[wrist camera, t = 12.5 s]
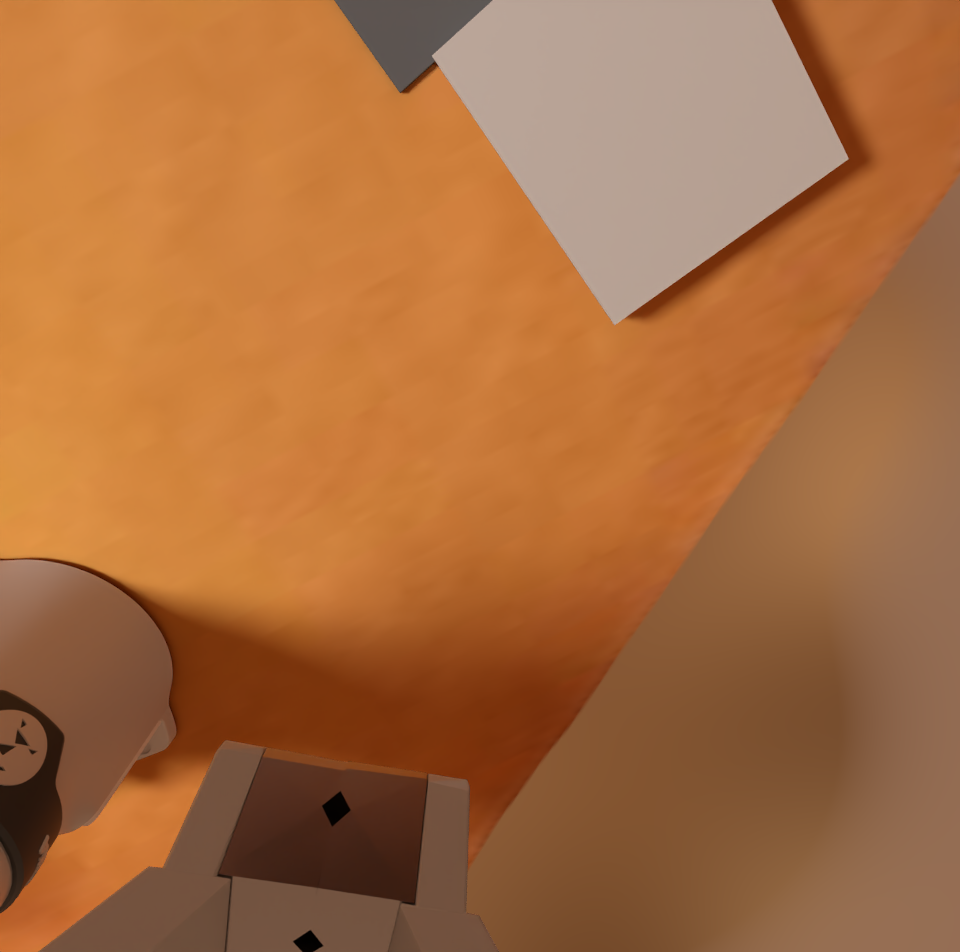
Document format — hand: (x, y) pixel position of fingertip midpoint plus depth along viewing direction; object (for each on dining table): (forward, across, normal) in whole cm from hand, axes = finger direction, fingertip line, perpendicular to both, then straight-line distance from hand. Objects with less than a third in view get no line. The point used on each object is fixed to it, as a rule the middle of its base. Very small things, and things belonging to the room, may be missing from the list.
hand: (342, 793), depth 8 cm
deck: (+29, -6, -10) cm, 32 cm away
